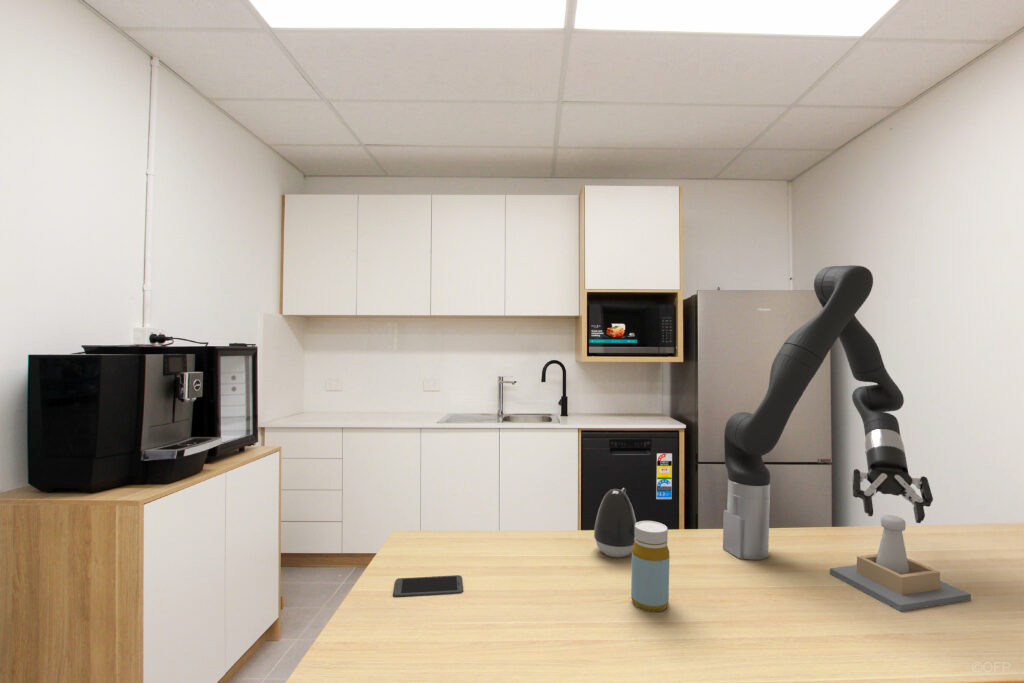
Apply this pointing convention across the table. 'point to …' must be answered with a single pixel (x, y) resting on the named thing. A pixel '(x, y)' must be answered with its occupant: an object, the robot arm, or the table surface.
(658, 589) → the bottle
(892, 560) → the salt shaker
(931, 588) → the holder
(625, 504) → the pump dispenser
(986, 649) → the table surface
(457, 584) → the cell phone
